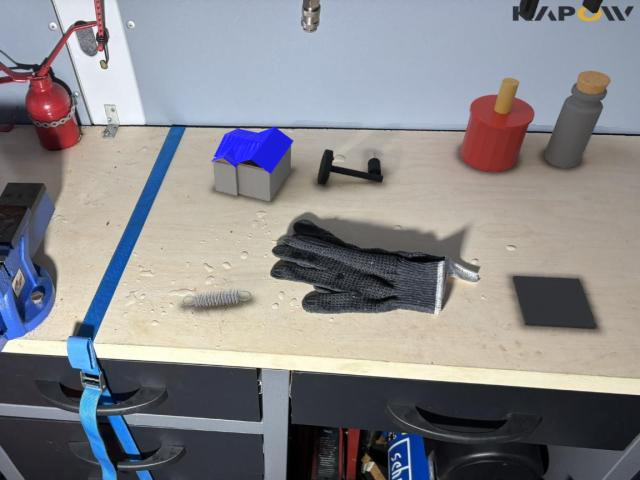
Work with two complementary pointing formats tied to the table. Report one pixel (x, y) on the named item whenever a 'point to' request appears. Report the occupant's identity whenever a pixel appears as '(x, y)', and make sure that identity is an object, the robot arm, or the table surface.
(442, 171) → the table surface
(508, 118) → the tin lid
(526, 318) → the mat
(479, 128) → the tin
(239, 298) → the spring
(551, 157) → the bottle
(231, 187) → the house
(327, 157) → the light fixture
